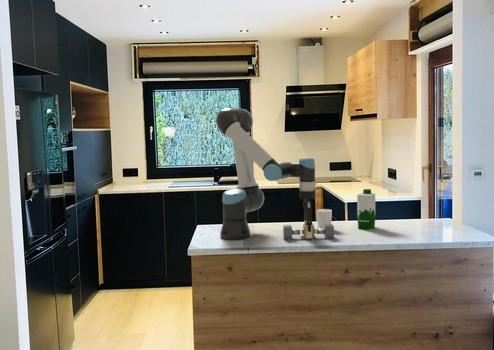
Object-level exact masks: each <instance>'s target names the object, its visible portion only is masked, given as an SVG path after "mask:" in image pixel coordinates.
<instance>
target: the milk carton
mask: <svg viewBox="0 0 494 350" xmlns="http://www.w3.org/2000/svg"><path fill="white" fill-rule="evenodd" d="M356 198H357V206H356V207H357V229H359V230H370V229H372V230H373V229H374V228H375V226H376V193H373V192H372V189H371V188H365V189H363V190H362V192H360V193H358V194H357V195H356Z"/></svg>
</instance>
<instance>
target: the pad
mask: <svg viewBox="0 0 494 350" xmlns="http://www.w3.org/2000/svg"><path fill="white" fill-rule="evenodd" d="M300 239H301V240H302V241H304V240H305V241H309V240H310V241H311V240H312V239H313V240H314V239H315V240H317V238H316V235H314V238H307V239H304V237H303V235H300Z"/></svg>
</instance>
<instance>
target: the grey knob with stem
mask: <svg viewBox="0 0 494 350" xmlns="http://www.w3.org/2000/svg"><path fill="white" fill-rule="evenodd" d="M334 227H335V226H334V225H333V223H331V224H324V229H318V228H317V229H316V228H315V229H316V235H323V237H324V239H325V240H328V239H329V240H330V239H331V240H334V239H335V236H334V235H335V232H334V231H335V230H334V229H335V228H334Z"/></svg>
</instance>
